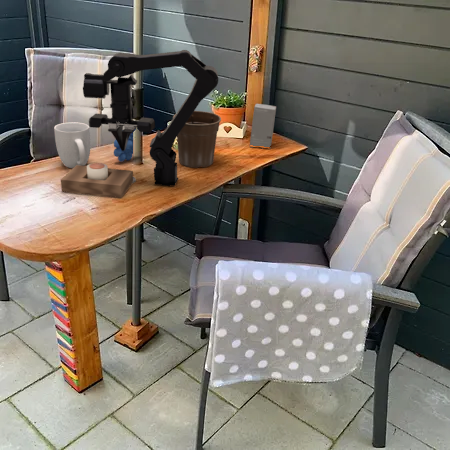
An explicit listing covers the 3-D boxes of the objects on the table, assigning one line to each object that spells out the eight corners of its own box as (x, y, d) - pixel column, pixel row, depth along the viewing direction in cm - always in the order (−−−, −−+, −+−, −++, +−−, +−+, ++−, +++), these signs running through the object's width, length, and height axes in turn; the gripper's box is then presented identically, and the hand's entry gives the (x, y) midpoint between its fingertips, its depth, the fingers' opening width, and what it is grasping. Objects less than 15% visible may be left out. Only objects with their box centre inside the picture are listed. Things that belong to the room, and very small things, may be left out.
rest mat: (138, 177, 157) (138, 176, 157) (132, 185, 151) (132, 184, 151) (117, 175, 158) (117, 174, 158) (110, 183, 152) (110, 182, 152)
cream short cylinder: (111, 182, 151) (110, 162, 148) (104, 189, 146) (103, 170, 143) (92, 180, 151) (90, 161, 148) (85, 187, 146) (83, 168, 143)
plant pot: (209, 173, 163) (211, 126, 156) (165, 166, 168) (165, 119, 160) (224, 158, 177) (227, 114, 170) (183, 151, 181) (184, 108, 174)
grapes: (132, 153, 177) (131, 120, 171) (145, 158, 173) (144, 125, 167) (106, 161, 169) (104, 127, 163) (119, 166, 165) (117, 131, 159)
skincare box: (249, 147, 190) (252, 107, 182) (251, 142, 196) (254, 102, 188) (271, 150, 189) (275, 109, 181) (272, 144, 195) (276, 104, 187)
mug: (101, 171, 160) (98, 132, 154) (67, 177, 154) (63, 137, 148) (85, 157, 171) (82, 120, 165) (53, 162, 165) (49, 124, 159)
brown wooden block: (133, 182, 153) (132, 170, 152) (121, 198, 143) (120, 185, 141) (77, 177, 155) (76, 165, 153) (61, 192, 144) (60, 179, 142)
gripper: (159, 95, 149) (159, 144, 156) (99, 90, 150) (102, 139, 158) (149, 104, 139) (150, 156, 146) (86, 99, 141) (90, 150, 148)
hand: (123, 150), depth 150 cm, fingers closed
